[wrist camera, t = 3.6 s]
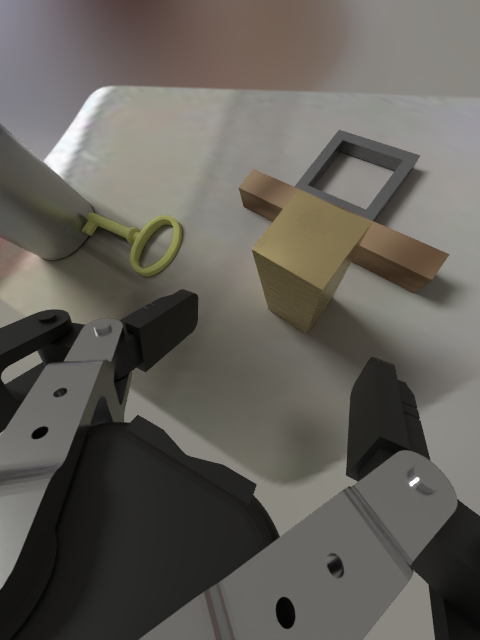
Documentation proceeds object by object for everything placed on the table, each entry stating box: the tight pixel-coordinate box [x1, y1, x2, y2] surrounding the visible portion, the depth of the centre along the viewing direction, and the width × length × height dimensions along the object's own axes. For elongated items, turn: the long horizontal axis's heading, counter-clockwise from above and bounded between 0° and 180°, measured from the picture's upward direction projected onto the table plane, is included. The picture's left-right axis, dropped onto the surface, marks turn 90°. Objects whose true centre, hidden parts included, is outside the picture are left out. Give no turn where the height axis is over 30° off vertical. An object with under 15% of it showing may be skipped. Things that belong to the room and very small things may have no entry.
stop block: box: [252, 190, 372, 334], centre depth 16 cm, size 4×4×10 cm
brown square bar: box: [239, 169, 449, 293], centre depth 20 cm, size 18×2×2 cm, turn 52°
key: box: [82, 212, 182, 276], centre depth 26 cm, size 7×12×2 cm, turn 81°
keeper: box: [295, 130, 420, 221], centre depth 22 cm, size 8×8×1 cm
